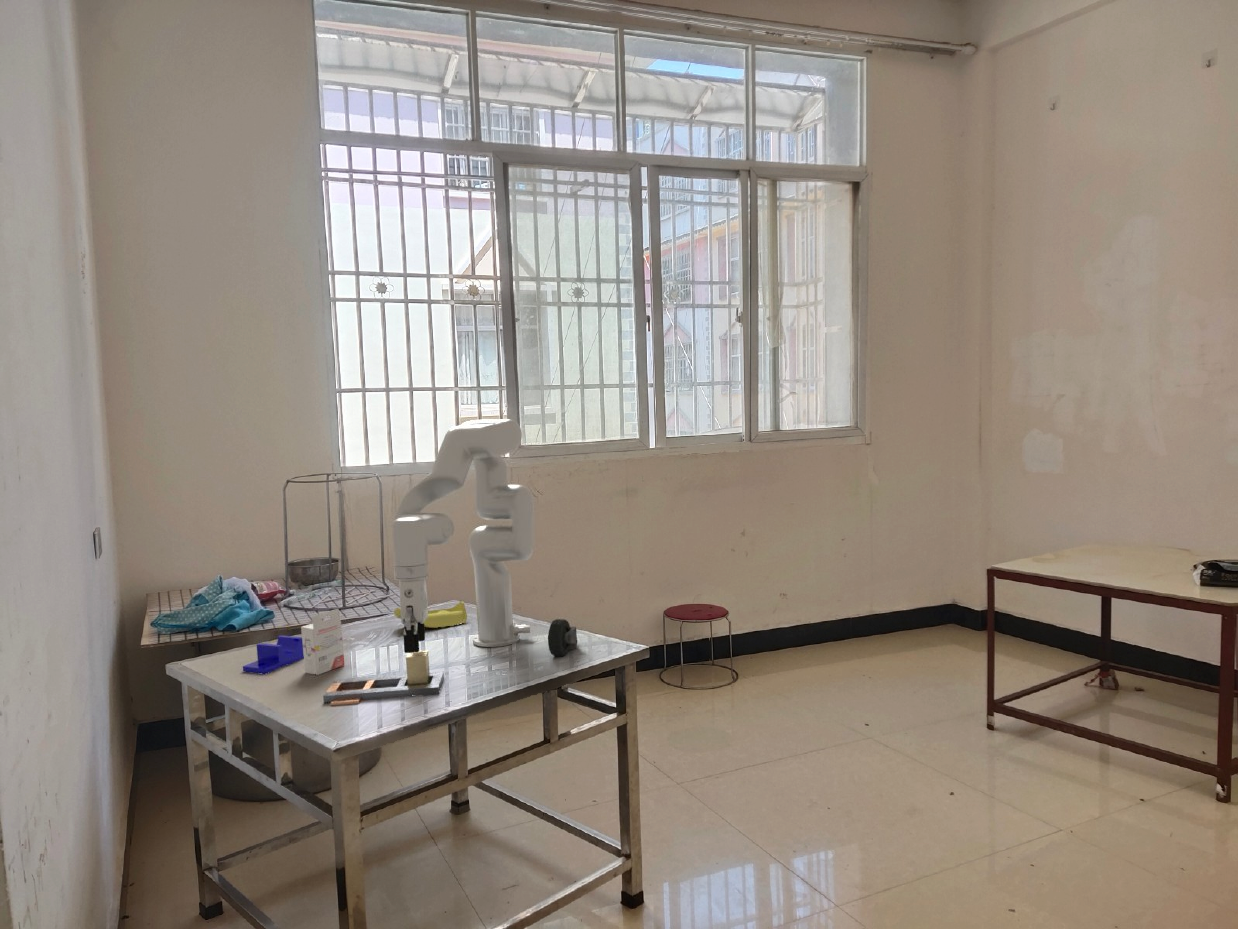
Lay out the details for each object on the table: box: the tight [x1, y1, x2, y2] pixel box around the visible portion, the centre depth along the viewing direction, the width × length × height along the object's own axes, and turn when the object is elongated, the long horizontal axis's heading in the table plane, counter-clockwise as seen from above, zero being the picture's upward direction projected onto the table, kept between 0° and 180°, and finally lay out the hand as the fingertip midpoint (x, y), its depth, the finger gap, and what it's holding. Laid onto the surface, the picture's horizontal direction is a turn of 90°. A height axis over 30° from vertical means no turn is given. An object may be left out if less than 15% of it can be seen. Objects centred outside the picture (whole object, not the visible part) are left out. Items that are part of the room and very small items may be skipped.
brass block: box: [405, 650, 431, 686], centre depth 192 cm, size 4×4×8 cm
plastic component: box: [393, 601, 468, 629], centre depth 247 cm, size 20×7×10 cm
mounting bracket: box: [242, 635, 304, 675], centre depth 217 cm, size 18×7×6 cm, turn 157°
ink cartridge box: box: [300, 608, 345, 676], centre depth 209 cm, size 9×5×15 cm, turn 148°
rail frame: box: [322, 671, 445, 706], centre depth 190 cm, size 25×13×2 cm, turn 96°
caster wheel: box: [547, 618, 578, 657], centre depth 215 cm, size 6×10×15 cm
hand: (415, 646), depth 191 cm, fingers open, 9 cm apart
